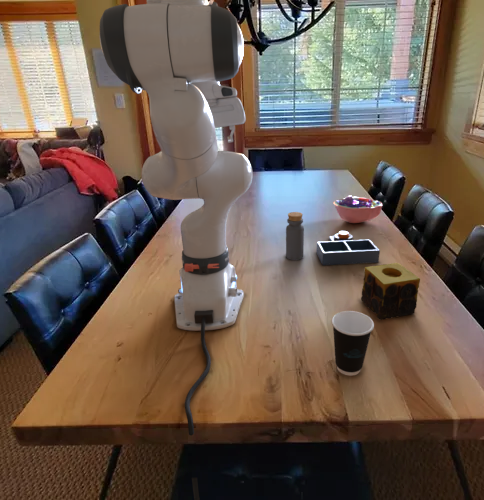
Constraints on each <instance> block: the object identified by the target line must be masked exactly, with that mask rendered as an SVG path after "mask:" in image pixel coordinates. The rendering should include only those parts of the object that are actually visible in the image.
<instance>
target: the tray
mask: <svg viewBox="0 0 484 500" xmlns="http://www.w3.org/2000/svg"><path fill="white" fill-rule="evenodd" d="M380 252H381V250H380V249H379V248H378V246H376V244H375V243H374V242H373V241H372V240H371V239H370V238H369V239H368V238H366V239H353V240H345V241H330V240H327V241H325V240H324V241H316V255H317V258H318V259H319V261H320V263H321V265H322V266H333V265H334V266H336V265H355V264H375V263H379V262H380V261H379V260H380Z"/></svg>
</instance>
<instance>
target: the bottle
mask: <svg viewBox="0 0 484 500" xmlns="http://www.w3.org/2000/svg"><path fill="white" fill-rule="evenodd" d="M303 215H304V214H303V213H302V212H299V211H291V212H289V213H287V216H288V217H287V219H286V223H287V225H286V227H285V257H286V258H287V259H288V260H291V261H298V260H302V259H303V258H304V249H305V248H304V246H305V227H304V225H302V224H304V219H303Z"/></svg>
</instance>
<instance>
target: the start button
mask: <svg viewBox="0 0 484 500" xmlns="http://www.w3.org/2000/svg"><path fill="white" fill-rule="evenodd" d="M338 233H339V234H338V237H340V238H348V237H349V234H350V232H349V231H346V230H340V231H338Z"/></svg>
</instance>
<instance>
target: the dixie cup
mask: <svg viewBox="0 0 484 500" xmlns="http://www.w3.org/2000/svg"><path fill="white" fill-rule="evenodd" d="M331 325H332V327H333V328H332V329H333V345H334V346H333V347H334V362H335V365H336V369H337V370H338V373H341V374H342V375H345V376H349V377H351V376H356V375H358V374H359V373H361V370H362V369H363V366H364V362H365V359H366V355H367V354H366V353H367V351H368V346H369V342H370V338H371V334H372V331H373V330H374V327H375V323H374V321H373V319H372V318H371V317H370V316H369V315H367V314H365V313H362V312H361V311H356V310H344V311H339V312H337V313H335V314H334V315H333V316H332V317H331Z"/></svg>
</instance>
